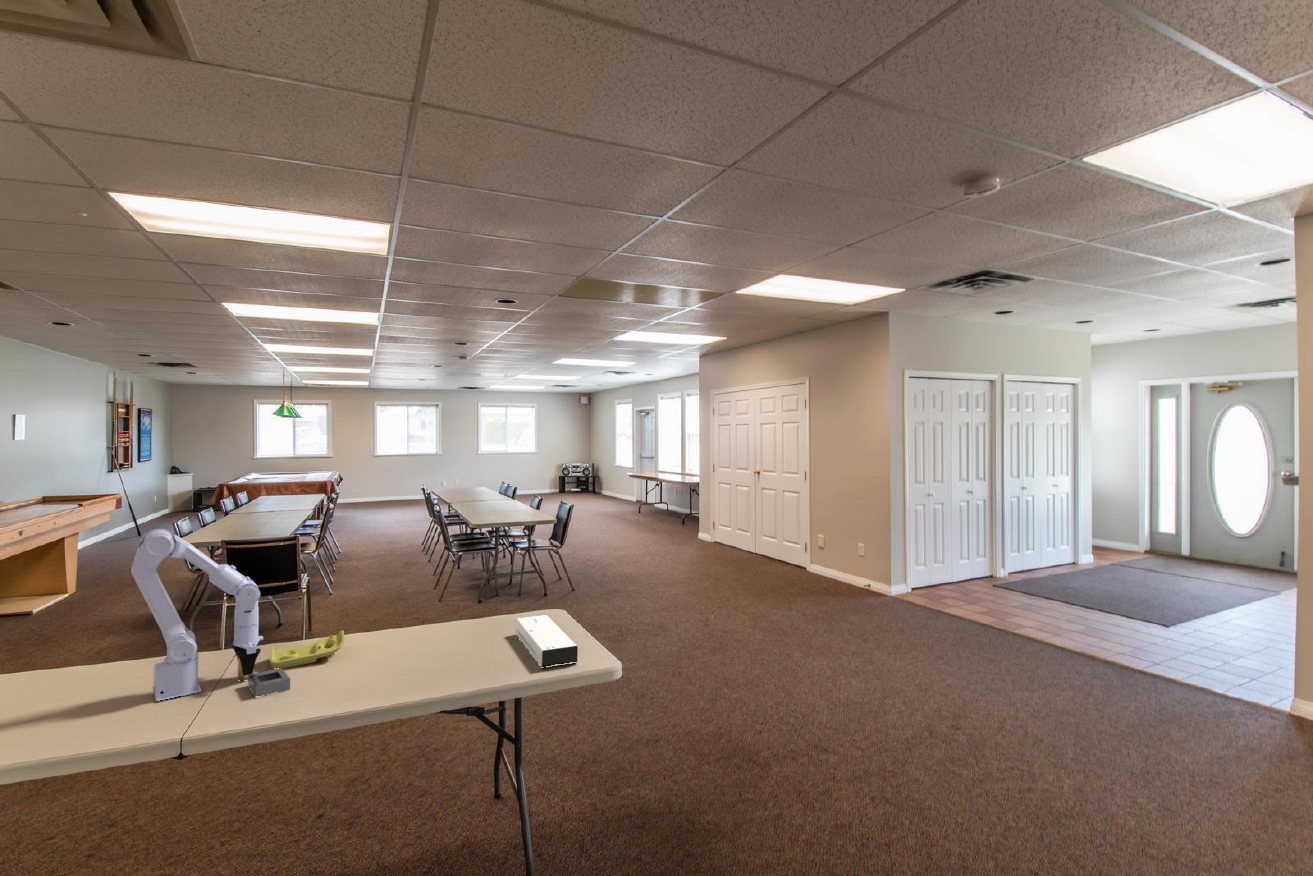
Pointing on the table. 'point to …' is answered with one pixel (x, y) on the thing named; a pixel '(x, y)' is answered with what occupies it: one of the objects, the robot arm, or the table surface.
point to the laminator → (546, 640)
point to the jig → (269, 682)
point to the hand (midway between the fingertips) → (246, 672)
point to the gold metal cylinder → (240, 674)
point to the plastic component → (306, 652)
